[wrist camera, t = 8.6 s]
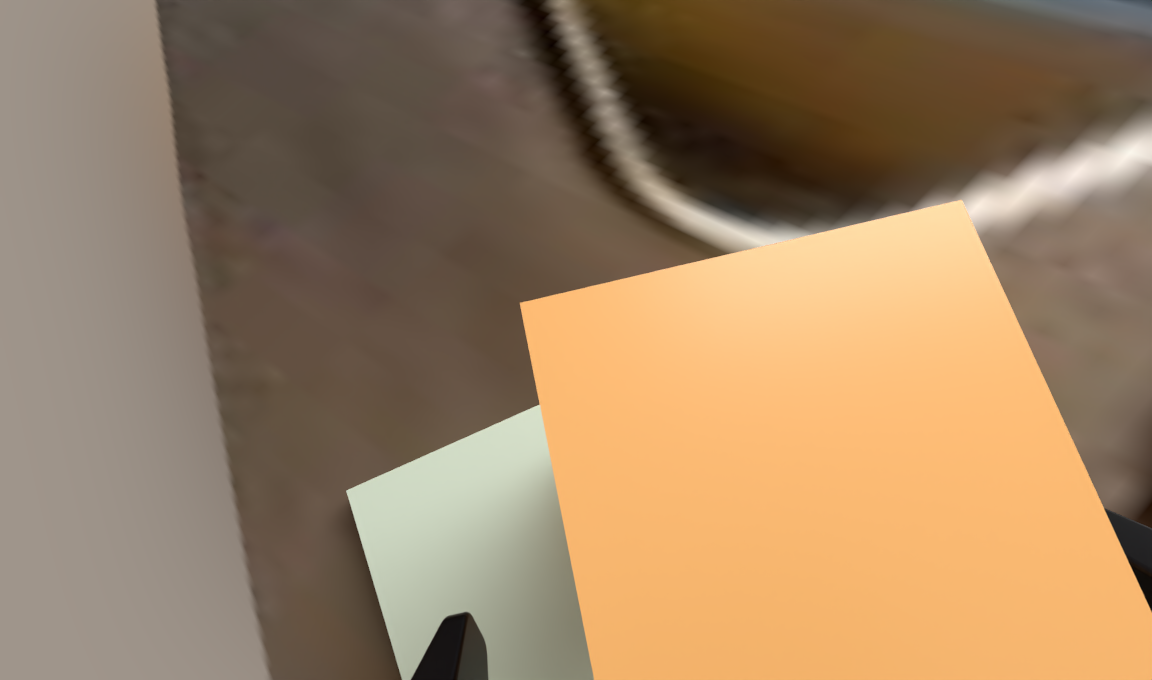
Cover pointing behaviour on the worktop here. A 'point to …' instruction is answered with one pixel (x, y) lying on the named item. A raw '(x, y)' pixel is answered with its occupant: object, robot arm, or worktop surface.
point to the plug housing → (827, 471)
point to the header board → (477, 552)
